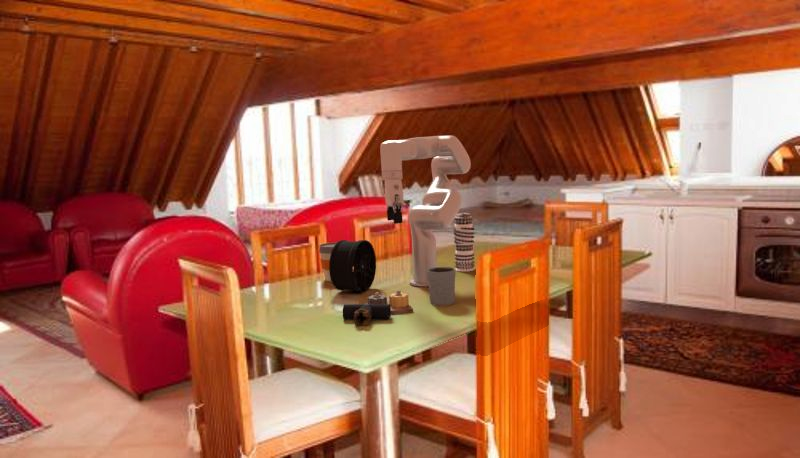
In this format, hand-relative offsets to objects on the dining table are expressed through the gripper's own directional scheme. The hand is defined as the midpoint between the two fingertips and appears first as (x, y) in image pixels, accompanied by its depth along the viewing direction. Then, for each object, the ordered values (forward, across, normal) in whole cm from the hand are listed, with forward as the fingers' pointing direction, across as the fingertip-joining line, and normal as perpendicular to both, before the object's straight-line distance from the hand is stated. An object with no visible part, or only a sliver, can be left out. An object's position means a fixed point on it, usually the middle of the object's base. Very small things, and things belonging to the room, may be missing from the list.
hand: (394, 221), depth 237 cm
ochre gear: (+26, -20, +5) cm, 33 cm away
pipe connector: (+28, -31, +20) cm, 46 cm away
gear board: (+27, -20, +9) cm, 35 cm away
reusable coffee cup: (+28, +39, +18) cm, 52 cm away
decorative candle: (+29, +33, -39) cm, 59 cm away
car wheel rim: (+28, +14, +14) cm, 35 cm away
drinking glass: (+28, -18, -11) cm, 35 cm away
